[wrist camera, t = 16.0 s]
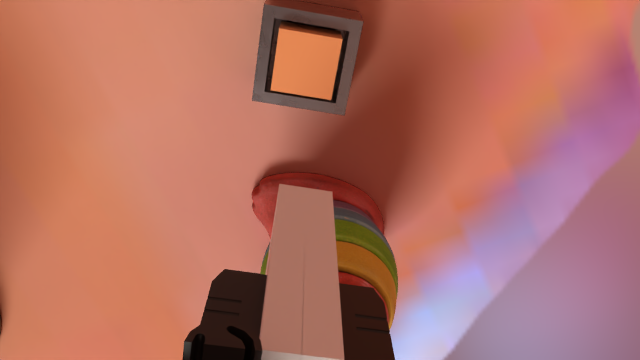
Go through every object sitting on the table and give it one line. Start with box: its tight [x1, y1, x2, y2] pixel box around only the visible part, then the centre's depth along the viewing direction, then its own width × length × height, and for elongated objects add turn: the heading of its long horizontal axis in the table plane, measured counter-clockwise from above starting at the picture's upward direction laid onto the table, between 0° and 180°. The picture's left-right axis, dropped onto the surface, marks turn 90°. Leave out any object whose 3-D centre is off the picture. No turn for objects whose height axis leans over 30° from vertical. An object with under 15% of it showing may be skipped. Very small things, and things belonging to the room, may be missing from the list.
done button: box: [271, 21, 343, 100], centre depth 35 cm, size 4×4×2 cm
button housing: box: [252, 0, 363, 115], centre depth 36 cm, size 6×6×4 cm
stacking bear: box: [252, 173, 398, 330], centre depth 36 cm, size 11×10×18 cm
